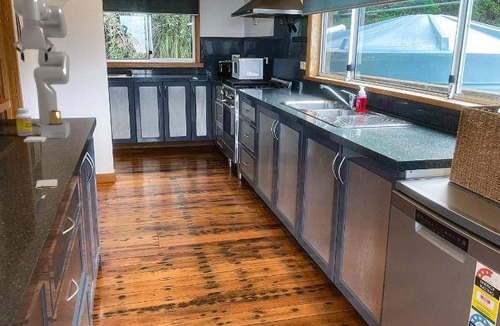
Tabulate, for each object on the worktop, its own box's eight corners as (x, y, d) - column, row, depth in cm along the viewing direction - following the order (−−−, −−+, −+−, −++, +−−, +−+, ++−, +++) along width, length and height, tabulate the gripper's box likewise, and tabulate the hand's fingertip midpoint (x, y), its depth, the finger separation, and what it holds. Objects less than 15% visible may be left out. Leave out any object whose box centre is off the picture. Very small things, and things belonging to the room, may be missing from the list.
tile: (28, 138, 215) (28, 136, 215) (46, 138, 217) (46, 136, 217) (23, 142, 208) (23, 140, 207) (42, 141, 209) (42, 139, 209)
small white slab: (58, 183, 150) (57, 179, 150) (51, 214, 123) (50, 209, 123) (37, 184, 148) (37, 180, 148) (26, 216, 121) (25, 211, 121)
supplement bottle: (26, 136, 220) (24, 110, 217) (14, 135, 221) (11, 109, 218) (35, 134, 227) (33, 108, 223) (23, 133, 228) (21, 107, 225)
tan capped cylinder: (51, 130, 225) (49, 109, 222) (62, 130, 226) (61, 109, 224) (48, 132, 220) (47, 110, 217) (60, 132, 221) (59, 110, 218)
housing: (47, 133, 228) (46, 121, 227) (70, 133, 230) (69, 121, 229) (41, 138, 217) (40, 125, 215) (65, 138, 219) (65, 125, 217)
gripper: (51, 26, 223) (54, 62, 227) (11, 24, 215) (14, 61, 219) (52, 25, 216) (55, 62, 220) (11, 23, 209) (14, 61, 213)
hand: (35, 61), depth 220 cm, fingers open, 9 cm apart
